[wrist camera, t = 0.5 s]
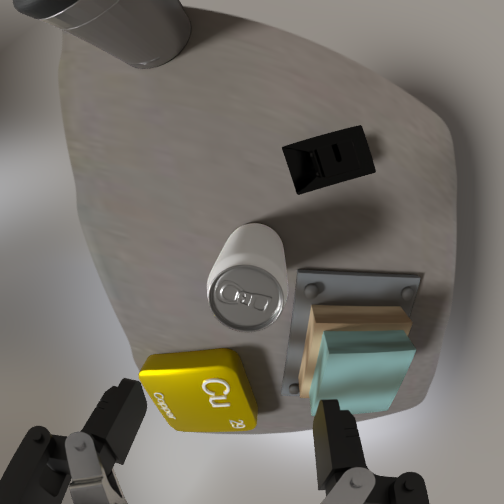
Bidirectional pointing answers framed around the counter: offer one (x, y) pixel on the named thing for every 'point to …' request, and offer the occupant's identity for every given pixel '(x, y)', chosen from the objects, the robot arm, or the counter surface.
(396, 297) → the brick tower
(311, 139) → the black slotted housing
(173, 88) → the counter surface
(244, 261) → the can
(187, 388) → the element tile
